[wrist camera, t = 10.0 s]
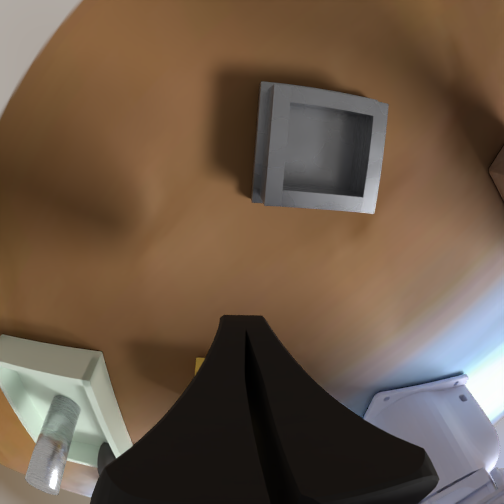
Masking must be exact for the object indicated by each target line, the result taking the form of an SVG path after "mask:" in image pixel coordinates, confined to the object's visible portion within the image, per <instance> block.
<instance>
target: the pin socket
mask: <svg viewBox="0 0 504 504" xmlns="http://www.w3.org/2000/svg"><path fill="white" fill-rule="evenodd" d="M387 115H388V104H386V103H382V102H377V100H374V99H370V98H366V97H361V96H356V95H352V94H347V93H341V92H336V91H330V90H325V89H319V88H312V87H305V86H298V85H290V84H282V83H273V82H263V81H261V82H260V86H259V99H258V112H257V125H256V138H255V151H254V164H253V177H252V191H251V201H252V203H263V204H264V205H265V206H282V207H298V208H312V209H325V210H338V211H350V212H361V213H372V214H374V212H375V206H376V200H377V194H378V188H379V181H380V175H381V168H382V160H383V152H384V144H385V135H386V126H387Z"/></svg>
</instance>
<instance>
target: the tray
mask: <svg viewBox="0 0 504 504" xmlns="http://www.w3.org/2000/svg"><path fill="white" fill-rule="evenodd" d="M0 387H1V389H2V391H3V393H4V395H5V396H6V398H7V400H8V402H9V403H10V405H11V407H12V408H13V410H14V411H15V413H16V415H17V416H18V418H19V419H20V421H21V422H22V424H23V426H24V427H25V429H26V430H27V431H28V433H29V434H30V436H31V437H32V439H33V440H34V442H35V443H36V442H37V439H38V436H39V434H40V431H41V428H42V425H43V423H44V420H45V417H46V415H47V412H48V410H49V407H50V404H51V402H52V399H53V397H54V396H56V395H62V396H65V397H68V398H70V399H72V400H73V401H74V402H76V403H77V404H78V405H79V407H80V409H81V412H80V415H79V418H78V421H77V425H76V428H75V431H74V435H73V438H72V442H71V445H70V449H69V453H68V457H67V460H68V461H71V462H75V463H79V464H83V465H87V466H92V467H96V468H98V466H97V460H98V453H99V449H100V446H101V444H102V443H103V442H106V443H109V445H110V447H111V449H112V451H113V453H114V455H115V457H116V458H118V457H119V456H120V455H121V454H123V453H124V452H125V451H127V450H128V449H129V448H131V447H132V446H133V444H132V442H131V439H130V437H129V434H128V431H127V429H126V426H125V423H124V421H123V418H122V415H121V412H120V409H119V406H118V403H117V400H116V397H115V394H114V391H113V388H112V385H111V382H110V378H109V375H108V371H107V368H106V364H105V361H104V357H103V353H102V352H101V351H93V350H86V349H79V348H72V347H66V346H60V345H54V344H48V343H43V342H37V341H32V340H27V339H22V338H17V337H13V336H8V335H4V334H2V335H1V336H0Z"/></svg>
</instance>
